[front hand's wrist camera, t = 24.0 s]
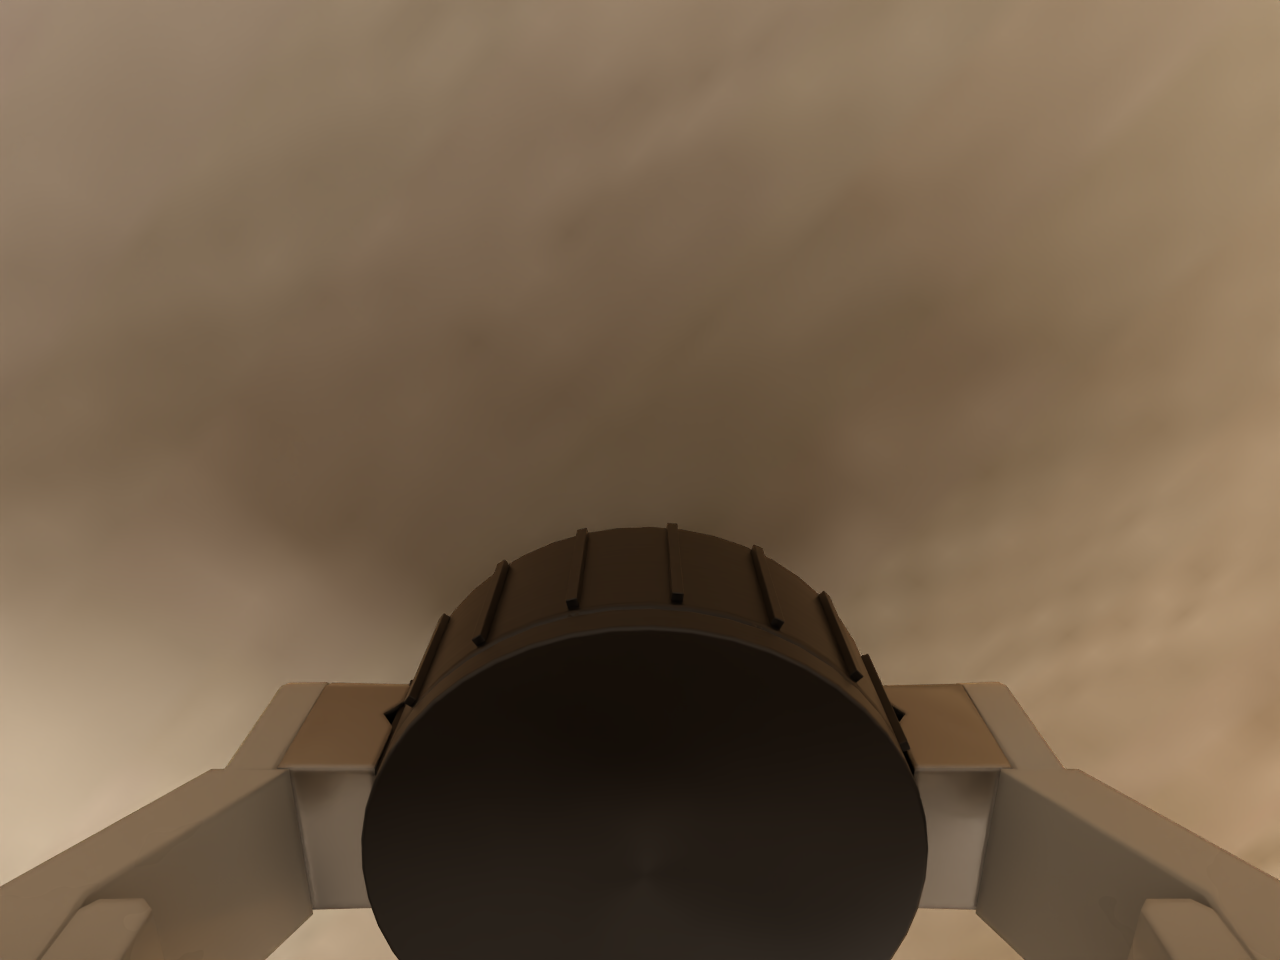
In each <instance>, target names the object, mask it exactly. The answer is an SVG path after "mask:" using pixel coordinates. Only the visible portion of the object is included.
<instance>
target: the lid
mask: <svg viewBox="0 0 1280 960" xmlns="http://www.w3.org/2000/svg"><path fill="white" fill-rule="evenodd" d="M409 686H410V689H409V691H408V693H407V696H406V698H405V700H404V704H405V705H404V706H403V707H400V708H399V709H398V711H397V713H396V716H395V718H394V720H393V722H392V727H393V733H392V736H391V738H390V740H389V742H388V745H387V747H386V749H385V751H384V754H383V756H382V758H381V761H380V763H379V765H378V767H377V770H376V777H375V779H374V782H373V785H372V789H371V792H370V795H369V798H368V801H367V805H366V808H365V814H364V821H363V828H362V836H361V850H362V870H363V875H364V880H365V885H366V890H367V896H368V900H369V902H370V905H371V908H372V910H373V913H374V916H375V918H376V921H377V924H378V926H379V928H380V930H381V932H382V933H383V935H384V937H385V939H386V941H387V943H388V944H389V946H390V948H391V950H392V951H393V953H394V954H395V955H396V957H397V958H398V959H399V960H891V959H892V957H893V956H894V954H895V952H896V951H897V949H898V948H899V946H900V944H901V943H902V941H903V940H904V938H905V936H906V935H907V933H908V930H909V928H910V926H911V923H912V921H913V919H914V916H915V914H916V912H917V909H918V907H919V903H920V899H921V895H922V891H923V887H924V883H925V879H926V870H927V858H928V836H927V824H926V816H925V812H924V808H923V804H922V800H921V796H920V792H919V789H918V786H917V784H916V782H915V779H914V777H913V775H912V773H911V770H910V768H909V766H908V763H907V761H906V759H905V756H904V754H903V752H904V751H907V750H910V745H909V743H908V741H907V738H906V736H905V734H904V732H903V730H902V727H901V725H900V723H899V721H898V718H897V716H896V714H895V712H894V710H893V707H892V705H891V703H890V701H889V699H888V696H887V694H886V692H885V690H884V688H883V685H882V683H881V681H880V679H879V676H878V674H877V672H876V670H875V668H874V665H873V663H872V661H871V659H870V657H869V654H866V655H863V656H861V655H860V653H859V651H858V649H857V646H856V644H855V642H854V640H853V639H852V637H851V635H850V634H849V632H848V631H847V629H846V627H845V626H844V624H843V623H842V621H841V620H840V618H839V617H838V615H837V612H836V610H835V608H834V605H833V603H832V600H831V598H830V596H829V595H828V594H827V593H826V592H825V591H823V592H822V593H821V594H818V593H816V592H815V591H814V590H813V589H812V588H811V587H809V586H808V585H807V584H806V583H805V582H804V581H803V580H801V579H800V578H799V577H798V576H796V575H795V574H793V573H792V572H790V571H789V570H787V569H786V568H784V567H783V566H781V565H780V564H778V563H777V562H775V561H773V560H772V559H770V558H767V557H765V555H764V552H763V549H762V548H760V547H758V546H756V545H754V546H753V547H752V549H749V548H747V547H745V546H742V545H739V544H736V543H734V542H730V541H727V540H724V539H721V538H718V537H715V536H710V535H706V534H701V533H696V532H691V531H686V530H680V529H678V527H677V524H673V523H667V528H655V527H639V528H616V529H610V530H604V531H598V532H592V533H588V531H587V528H584V529H580V530H577V535H576V536H575V537H571V538H568V539H565V540H561V541H558V542H554V543H552V544H549V545H547V546H545V547H542V548H540V549H538V550H535V551H533V552H531V553H528V554H526V555H524V556H522V557H521V558H519V559H517V560H516V561H514V562H512V563H510V564H508V563H507V562H506V560H503V561H502V562H500V563H499V564H497V567H496V570H495V573H494V574H493V575H492V576H491V577H490V578H488V579H487V580H486V581H485V582H483V583H482V584H481V585H480V586H478V587H477V588H476V589H475V590H473V592H472V593H471V594H470V595H469V596H468V597H467V598H466V599H465V600H464V601H463V602H462V603H461V604H460V605H459V606H458V607H457V608H456V609H455V611H454V612H453V613H452V615H451V616H450V617H449V616H448V615H446V614H443V615H442V616H441V618H440V619H439V621H438V624H437V626H436V628H435V631H434V633H433V635H432V638H431V640H430V642H429V645H428V647H427V649H426V651H425V654H424V656H423V658H422V661H421V663H420V665H419V668H418V670H417V672H416V675H415V677H414V679H413V680H411V681H410V683H409Z"/></svg>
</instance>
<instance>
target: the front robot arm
mask: <svg viewBox="0 0 1280 960" xmlns="http://www.w3.org/2000/svg"><path fill="white" fill-rule="evenodd" d="M883 688H884V690H885V692H886V694H887V696H888V699H889V701H890V703H891V705H892V707H893V710H894V712H895V714H896V716H897V718H898V721H899V723H900V725H901V727H902V730H903V732H904V734H905V736H906V738H907V741H908V743H909V745H910V750H907V751H904V752H903V754H904V756H905V759H906V761H907V763H908V766H909V768H910V770H911V773H912V775H913V777H914V779H915V782H916V784H917V786H918V789H919V792H920V796H921V800H922V804H923V808H924V812H925V816H926V824H927V836H928V858H927V870H926V879H925V883H924V887H923V891H922V895H921V899H920V903H919V907H918V908H938V909H973V910H976V914H977V915H978V916H979V917H980V918H981V919H982V920H983V921H984V922H985V923H987V924H988V925H989V926H990V927H991V928H992V929H993V930H994V931H995V932H996V933H997V934H998V935H999V936H1000V937H1001V938H1002V939H1003V940H1004V941H1006V942H1007V943H1008V944H1009V945H1010V946H1011V947H1012V948H1013V949H1014V950H1015V951H1016V952H1017V953H1018V954H1019V955H1020V956H1021V957H1022V958H1024V959H1025V960H1280V880H1278V879H1276V878H1274V877H1272V876H1270V875H1269V874H1267V873H1265V872H1263V871H1261V870H1260V869H1258V868H1256V867H1254V866H1252V865H1251V864H1249V863H1247V862H1245V861H1243V860H1242V859H1240V858H1238V857H1236V856H1234V855H1233V854H1231V853H1229V852H1227V851H1225V850H1224V849H1222V848H1220V847H1218V846H1216V845H1214V844H1213V843H1211V842H1209V841H1207V840H1205V839H1204V838H1202V837H1200V836H1198V835H1196V834H1195V833H1193V832H1191V831H1189V830H1187V829H1186V828H1184V827H1182V826H1180V825H1178V824H1177V823H1175V822H1173V821H1171V820H1169V819H1168V818H1166V817H1164V816H1162V815H1160V814H1158V813H1157V812H1155V811H1153V810H1151V809H1149V808H1148V807H1146V806H1144V805H1142V804H1140V803H1139V802H1137V801H1135V800H1133V799H1131V798H1130V797H1128V796H1126V795H1124V794H1122V793H1121V792H1119V791H1117V790H1115V789H1113V788H1111V787H1110V786H1108V785H1106V784H1104V783H1102V782H1101V781H1099V780H1097V779H1095V778H1093V777H1092V776H1090V775H1088V774H1086V773H1084V772H1083V771H1081V770H1079V769H1064V767H1063V766H1062V764H1061V763H1060V761H1059V760H1058V759H1057V757H1056V756H1055V754H1054V753H1053V751H1052V750H1051V749H1050V747H1049V746H1048V744H1047V743H1046V741H1045V740H1044V739H1043V737H1042V736H1041V734H1040V733H1039V731H1038V730H1037V729H1036V727H1035V726H1034V724H1033V723H1032V722H1031V720H1030V719H1029V717H1028V716H1027V714H1026V713H1025V712H1024V710H1023V709H1022V707H1021V706H1020V704H1019V703H1018V702H1017V700H1016V699H1015V697H1014V696H1013V694H1012V693H1011V692H1010V690H1009V689H1008V687H1007V686H1006V685H1004V684H1002V683H1000V682H980V683H956V684H927V685H883ZM409 689H410V686H409V684H373V683H331V684H330V683H327V682H303V683H288V684H285V685H283V686H281V687H280V688H279V690H278V691H277V693H276V694H275V696H274V697H273V699H272V700H271V702H270V703H269V705H268V706H267V707H266V709H265V710H264V712H263V713H262V715H261V716H260V718H259V719H258V721H257V722H256V724H255V725H254V727H253V728H252V730H251V731H250V732H249V734H248V735H247V737H246V738H245V740H244V741H243V743H242V744H241V746H240V747H239V749H238V750H237V752H236V753H235V755H234V756H233V757H232V759H231V760H230V762H229V763H228V765H227V766H226V768H225V769H211V770H209V771H207V772H205V773H203V774H202V775H200V776H198V777H196V778H194V779H193V780H191V781H189V782H187V783H186V784H184V785H182V786H180V787H178V788H177V789H175V790H173V791H171V792H169V793H168V794H166V795H164V796H162V797H160V798H159V799H157V800H155V801H153V802H151V803H150V804H148V805H146V806H144V807H142V808H141V809H139V810H137V811H135V812H133V813H132V814H130V815H128V816H126V817H124V818H123V819H121V820H119V821H117V822H116V823H114V824H112V825H110V826H108V827H107V828H105V829H103V830H101V831H99V832H98V833H96V834H94V835H92V836H90V837H89V838H87V839H85V840H83V841H81V842H80V843H78V844H76V845H74V846H72V847H71V848H69V849H67V850H65V851H63V852H62V853H60V854H58V855H56V856H54V857H53V858H51V859H49V860H47V861H45V862H44V863H42V864H40V865H38V866H37V867H35V868H33V869H31V870H29V871H28V872H26V873H24V874H22V875H20V876H19V877H17V878H15V879H13V880H11V881H10V882H8V883H6V884H4V885H2V886H1V887H0V960H265V959H266V958H267V957H268V956H269V955H270V954H272V953H273V952H274V951H275V950H276V949H277V948H278V947H279V946H280V945H281V944H282V943H283V942H284V941H285V940H286V939H287V938H288V937H289V936H290V935H291V934H293V933H294V932H295V931H296V930H297V929H298V928H299V927H300V926H301V925H302V924H303V923H304V922H305V921H306V920H307V919H308V918H309V917H310V916H311V915H312V914H313V910H315V909H350V908H371V905H370V902H369V900H368V896H367V890H366V885H365V880H364V875H363V870H362V850H361V836H362V828H363V821H364V814H365V808H366V805H367V801H368V798H369V795H370V792H371V789H372V785H373V782H374V779H375V777H376V770H377V767H378V765H379V763H380V761H381V758H382V756H383V754H384V751H385V749H386V747H387V745H388V742H389V740H390V738H391V736H392V733H393V727H392V722H393V720H394V718H395V716H396V713H397V711H398V709H399V708H400V707H403V706H404V705H405V704H404V700H405V698H406V696H407V693H408V691H409Z"/></svg>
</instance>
